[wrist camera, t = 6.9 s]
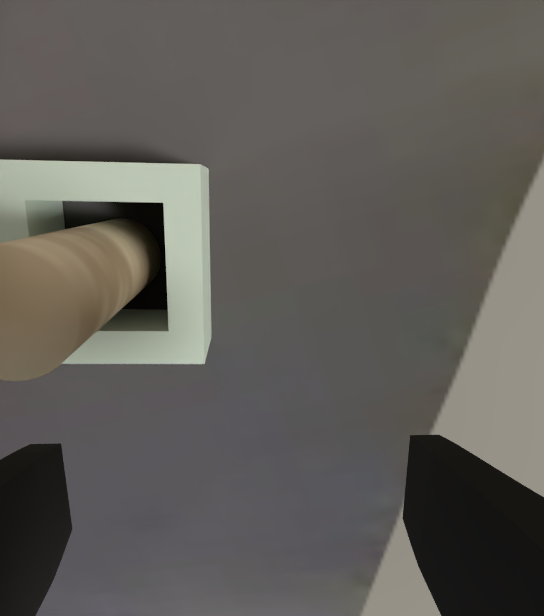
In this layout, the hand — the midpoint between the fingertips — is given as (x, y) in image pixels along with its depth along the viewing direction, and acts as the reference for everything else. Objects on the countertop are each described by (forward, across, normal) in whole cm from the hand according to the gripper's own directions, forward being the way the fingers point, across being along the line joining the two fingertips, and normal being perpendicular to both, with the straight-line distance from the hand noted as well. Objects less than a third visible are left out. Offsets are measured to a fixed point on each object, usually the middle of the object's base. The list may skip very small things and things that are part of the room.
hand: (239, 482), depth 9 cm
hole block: (+10, +5, -3) cm, 12 cm away
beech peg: (+10, +5, -3) cm, 12 cm away
